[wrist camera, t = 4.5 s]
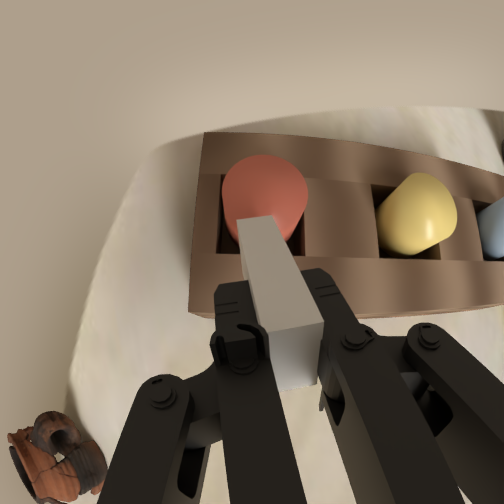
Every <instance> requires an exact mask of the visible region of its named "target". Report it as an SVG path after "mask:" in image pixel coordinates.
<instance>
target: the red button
mask: <svg viewBox="0 0 504 504" xmlns="http://www.w3.org/2000/svg"><path fill="white" fill-rule="evenodd" d="M222 198H223V206H224V214H225V221H226V228H227V232H228V234H229V237H230V238H231V240H232V241H233V242H234V244H235V245H237V246H238V247H239V248H240V246H239V238H238V229H237V221H236V220H239V219H246V218H253V217H261V216H269V215H272V217H273V219H274V221H275V223H276V225H277V227H278V229H279V230H280V232H281V234H282V236H283V238H284V240H285V242H286V243H287V242H288V240H289V239H290V237H291V235H292V233H293V231H294V229H295V227H296V225H297V224H298V222H299V220H300V218H301V216H302V214H303V212H304V210H305V208H306V205H307V201H308V188H307V184H306V182H305V179H304V177H303V176H302V174H301V173H300V171H299V170H298V169H297V168H296V167H295V166H294V165H292V164H291V163H290V162H288V161H286V160H284V159H282V158H280V157H277V156H272V155H254V156H250V157H247V158H245V159H243V160H241V161H239V162H238V163H236V164H235V165H234V166H233V167H232V168H231V169H230V170H229V171H228V173H227V174H226V176H225V179H224V181H223V186H222Z"/></svg>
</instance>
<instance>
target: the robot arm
mask: <svg viewBox="0 0 504 504" xmlns="http://www.w3.org/2000/svg"><path fill="white" fill-rule="evenodd" d="M502 152H503V157H504V140H503V143H502ZM236 221H237V229H238V238H239V246H240V254H241V263H242V271H243V277H244V280H243V281H237V282H230V283H223V284H219V285H218V287H217V289H216V291H215V293H214V310H215V326H216V331H215V332H214V333H213V335H212V336H211V340H210V348H211V352H212V355H213V359H214V362H213V363H212V365H211V366H210V367H209V368H208V369H206V370H205V371H204V372H202V373H200V374H198V375H195V376H193V377H190V378H188V379H185V380H182V379H181V378H179V377H177V376H174V375H171V374H162V375H157V376H154V377H152V378H150V379H148V380H147V381H146V382H144V383H143V384H142V386H141V387H140V389H139V390H138V392H137V394H136V397H135V399H134V402H133V404H132V407H131V409H130V412H129V415H128V417H127V420H126V422H125V425H124V428H123V430H122V433H121V436H120V438H119V441H118V444H117V447H116V449H115V452H114V455H113V458H112V460H111V463H110V466H109V469H108V472H107V475H106V478H105V481H104V484H103V487H102V490H101V493H100V496H99V499H98V502H97V504H199V503H200V498H201V493H202V488H203V482H204V477H205V472H206V467H207V462H208V457H209V452H210V447H211V444H213V443H215V442H218V441H220V440H223V449H224V457H225V466H226V474H227V482H228V490H229V497H230V504H307V501H306V497H305V493H304V490H303V486H302V482H301V478H300V474H299V470H298V466H297V462H296V459H295V455H294V451H293V447H292V443H291V439H290V435H289V431H288V427H287V423H286V419H285V415H284V411H283V407H282V403H281V399H280V395H279V392H282V391H287V390H292V389H297V388H302V387H306V386H311V385H315V384H317V378H318V376H319V379H320V382H321V385H322V391H321V397H320V402H319V411H323V408H324V407H325V410H326V413H327V416H328V419H329V422H330V425H331V428H332V431H333V433H334V436H335V439H336V442H337V445H338V448H339V451H340V454H341V457H342V460H343V463H344V466H345V469H346V472H347V475H348V478H349V481H350V484H351V487H352V490H353V493H354V497H355V500H356V503H357V504H465V502H464V500H463V497H462V495H461V493H460V490H459V488H460V489H461V490H462V492H463V493H464V494H465V495H466V496H467V498H468V499H469V500H470V501H471V502H472V504H504V384H503V383H502V382H501V381H500V380H499V379H498V378H496V377H495V376H494V375H493V374H492V373H491V372H490V371H489V370H488V369H487V368H486V367H485V366H484V365H483V364H482V363H481V362H479V361H478V360H477V359H476V358H475V357H474V356H473V355H472V354H471V353H470V352H468V351H467V350H466V349H465V348H464V347H463V346H462V345H461V344H460V343H458V342H457V341H456V340H455V339H454V338H453V337H452V336H450V335H449V334H448V333H447V332H446V331H445V330H444V329H442V328H440V327H439V326H437V325H435V324H431V323H419V324H416V325H413V326H412V327H411V328H410V329H409V331H408V334H407V336H380V335H377V333H376V332H375V331H374V330H373V329H372V328H370V327H368V326H366V325H364V324H360V323H359V322H358V320H357V318H356V316H355V315H354V313H353V311H352V310H351V308H350V306H349V305H348V303H347V301H346V300H345V298H344V296H343V295H342V294H341V291H340V290H339V288H338V287H337V286H336V283H335V282H334V280H333V278H332V277H331V275H330V274H328V273H327V272H325V271H324V270H323V269H321V268H314V269H308V270H302V271H300V270H299V268H298V266H297V264H296V262H295V260H294V258H293V256H292V254H291V252H290V250H289V248H288V246H287V244H286V242H285V240H284V238H283V236H282V234H281V232H280V230H279V229H278V227H277V225H276V223H275V221H274V219H273V217H272V215H269V216H261V217H253V218H246V219H239V220H236ZM458 487H459V488H458Z"/></svg>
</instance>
